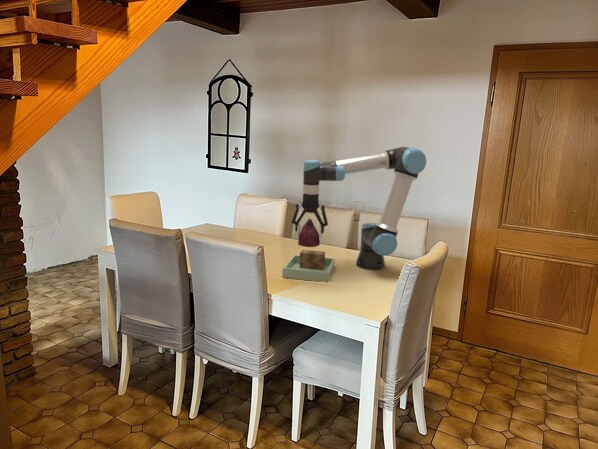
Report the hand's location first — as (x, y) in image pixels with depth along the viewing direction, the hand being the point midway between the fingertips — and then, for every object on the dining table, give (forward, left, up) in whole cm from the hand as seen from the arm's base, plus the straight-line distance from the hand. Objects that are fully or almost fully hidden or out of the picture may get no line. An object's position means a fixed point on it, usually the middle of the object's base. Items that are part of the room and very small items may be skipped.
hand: (309, 238), depth 223 cm
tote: (0, -4, -19) cm, 19 cm away
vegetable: (0, 0, -3) cm, 3 cm away
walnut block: (0, -11, -18) cm, 21 cm away
